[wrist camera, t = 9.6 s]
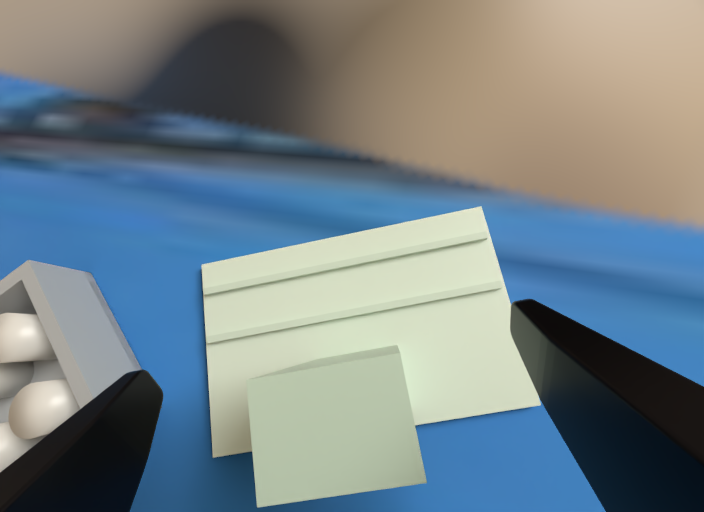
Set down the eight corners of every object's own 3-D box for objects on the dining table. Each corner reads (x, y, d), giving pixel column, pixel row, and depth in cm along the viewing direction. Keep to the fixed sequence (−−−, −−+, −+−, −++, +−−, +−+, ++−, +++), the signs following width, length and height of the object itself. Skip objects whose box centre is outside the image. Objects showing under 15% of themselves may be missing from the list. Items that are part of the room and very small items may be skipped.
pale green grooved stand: (532, 401, 13) (708, 483, 6) (222, 451, 14) (37, 574, 7) (476, 213, 16) (554, 97, 8) (210, 268, 17) (59, 211, 9)
